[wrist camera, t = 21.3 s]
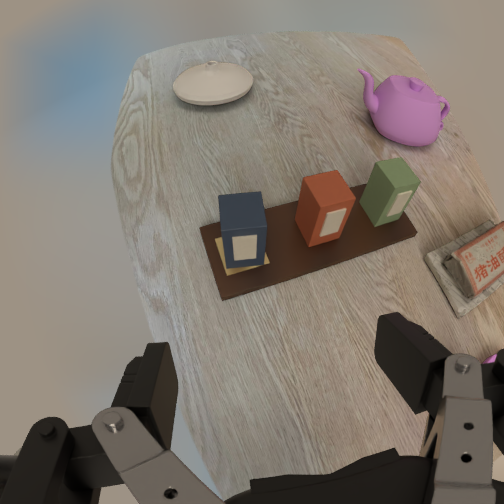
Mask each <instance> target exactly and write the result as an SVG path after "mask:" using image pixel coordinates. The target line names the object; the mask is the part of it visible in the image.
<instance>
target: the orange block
mask: <svg viewBox="0 0 504 504" xmlns="http://www.w3.org/2000/svg"><path fill="white" fill-rule="evenodd" d="M355 199H356V197H355V196H354V194H353V193H352V191H351V190H350V188H349V187H348V185H347V184H346V182H345V181H344V179H343V178H342V176H341V175H340V173H339V172H338V170H334V171H330V172H325V173H320V174H316V175H311V176H307V177H303V180H302V185H301V191H300V196H299V201H298V206H297V211H296V216H295V221H296V223H297V225H298V227H299V229H300V231H301V233H302V235H303V237H304V239H305V241H306V243H307V245H308V247H312V246H315V245H318V244H321V243H325V242H328V241H331V240H334V239H337V238H339V237H340V235H341V233H342V230H343V228H344V226H345V223H346V221H347V219H348V216H349V214H350V212H351V209H352V207H353V204H354V202H355Z"/></svg>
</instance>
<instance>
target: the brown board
mask: <svg viewBox="0 0 504 504" xmlns="http://www.w3.org/2000/svg"><path fill="white" fill-rule="evenodd" d="M366 185H367V184H363V185H359V186H355V187H351V188H350V190H351V191H352V193H353V194H354V196H355V197H356V199H355V202H354V204H353V207H352V209H351V212H350V214H349V216H348V219H347V221H346V223H345V226H344V228H343V230H342V233H341V235H340V237H339V238H337V239H334V240H331V241H328V242H325V243H321V244H318V245H315V246H312V247H308V245H307V243H306V241H305V239H304V237H303V235H302V233H301V231H300V229H299V227H298V225H297V223H296V221H295V216H296V211H297V206H298V201H299V200H298V201H294V202H291V203H287V204H283V205H279V206H275V207H272V208H268V209H264V210H265V216H266V221H267V236H266V247H265V259H264V265H258V266H249V267H239V268H229V269H226V263H225V256H224V249H223V241H222V234H221V224H220V222H217V223H213V224H210V225H206V226H203V227H200V232H201V235H202V239H203V242H204V245H205V248H206V252H207V255H208V258H209V261H210V264H211V268H212V271H213V274H214V277H215V280H216V283H217V286H218V290H219V293H220V296H221V299H222V301H223V300H227V299H230V298H233V297H236V296H240V295H243V294H246V293H249V292H252V291H256V290H259V289H262V288H265V287H268V286H271V285H274V284H277V283H281V282H284V281H287V280H290V279H293V278H296V277H299V276H302V275H305V274H308V273H311V272H314V271H317V270H320V269H323V268H326V267H329V266H332V265H335V264H338V263H341V262H343V261H346V260H349V259H352V258H355V257H358V256H361V255H364V254H366V253H369V252H372V251H375V250H378V249H380V248H383V247H386V246H389V245H392V244H394V243H397V242H400V241H403V240H405V239H408V238H411V237H413V236H415V235H416V234H417V231H416V229H415V227H414V226H413V224H412V223H411V221H410V220H409V218H408V217H407V215H406V213H405V212H404V211H403V213H402V215H401V216H400V218H399V219H398V220H395V221H392V222H389V223H385V224H382V225H379V226H376V227H374V225H373V223H372V222H371V220H370V219H369V217H368V215H367V214H366V212H365V211H364V209H363V207H362V206H361V204H360V203H359V202H360V199H361V197H362V195H363V192H364V190H365V187H366Z"/></svg>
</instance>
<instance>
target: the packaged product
mask: <svg viewBox="0 0 504 504" xmlns="http://www.w3.org/2000/svg"><path fill="white" fill-rule="evenodd" d="M424 260H425V261H426V263H427V265H428V266H429V268H430V269H431V271H432V273H433V274H434V276H435V278H436V279H437V281H438V283H439V284H440V286H441V288H442V289H443V291H444V293H445V295H446V296H447V298H448V300H449V302H450V304H451V306H452V308H453V310H454V312H455V314H456V316H457V318H460V317H463V316H464V315H465V314H467V313H468V312H469V311H471V310H472V309H473V308H475V307H476V306H477V305H479V304H480V303H481V302H482V301H483V300H485V299H486V298H487V297H488V296H489V295H491V294H492V293H493V292H494V291H495V290H497V289H498V288H499V287H500V286H501V285H502V284H503V283H504V221H502V222H501V223H499V224H496V225H494V222H493V221H491V220H488V221H487V222H485V223H483V224H482V225H480V226H478V227H476V228H475V229H473V230H471V231H469V232H467V233H465V234H464V235H462V236H460V237H458V238H457V239H455V240H453V241H451V242H449V243H447V244H445V245H443V246H441V247H439V248H438V249H436V250H434V251H432V252H430V253H428V254H427V255H426V257H425V259H424Z"/></svg>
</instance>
